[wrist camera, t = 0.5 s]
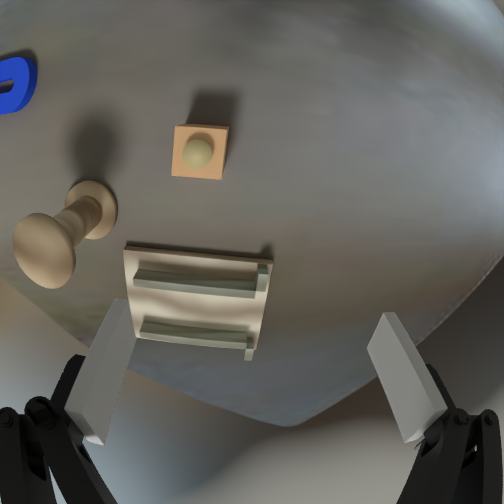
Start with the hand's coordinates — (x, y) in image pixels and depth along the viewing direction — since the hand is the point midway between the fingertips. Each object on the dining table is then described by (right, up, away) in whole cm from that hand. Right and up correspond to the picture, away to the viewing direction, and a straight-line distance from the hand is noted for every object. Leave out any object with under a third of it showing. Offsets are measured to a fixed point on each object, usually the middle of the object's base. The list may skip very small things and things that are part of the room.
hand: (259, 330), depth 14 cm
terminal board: (-9, -3, +28) cm, 29 cm away
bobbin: (-22, +10, +20) cm, 31 cm away
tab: (-6, +16, +18) cm, 25 cm away
